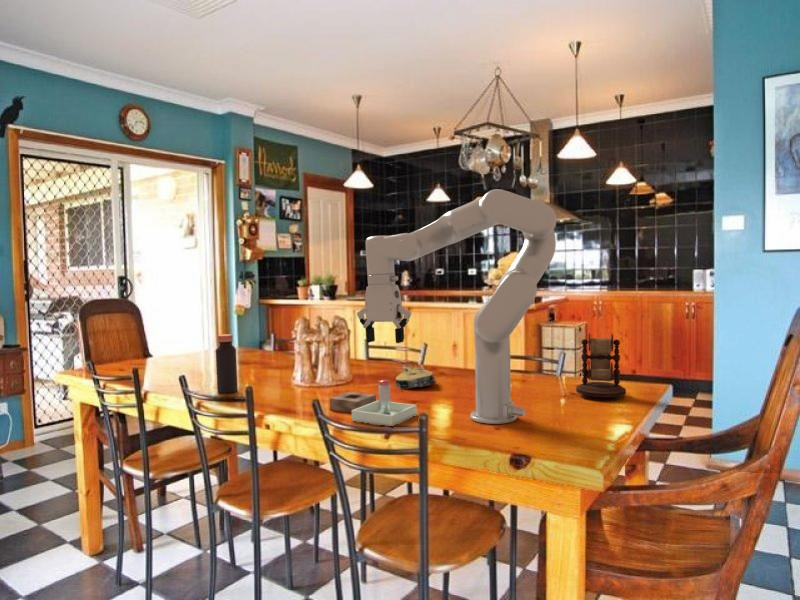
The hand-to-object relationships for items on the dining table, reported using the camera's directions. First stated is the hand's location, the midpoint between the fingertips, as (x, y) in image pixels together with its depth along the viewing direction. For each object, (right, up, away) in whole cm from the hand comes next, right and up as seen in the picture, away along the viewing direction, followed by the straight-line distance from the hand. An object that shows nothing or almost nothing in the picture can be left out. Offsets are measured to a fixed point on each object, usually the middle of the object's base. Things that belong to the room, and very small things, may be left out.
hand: (385, 342), depth 158 cm
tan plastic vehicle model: (+10, -19, +50) cm, 54 cm away
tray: (0, -22, +1) cm, 22 cm away
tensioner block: (-10, -21, +14) cm, 27 cm away
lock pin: (0, -21, +1) cm, 21 cm away
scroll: (+68, -19, +21) cm, 73 cm away
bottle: (-56, -21, +42) cm, 73 cm away
